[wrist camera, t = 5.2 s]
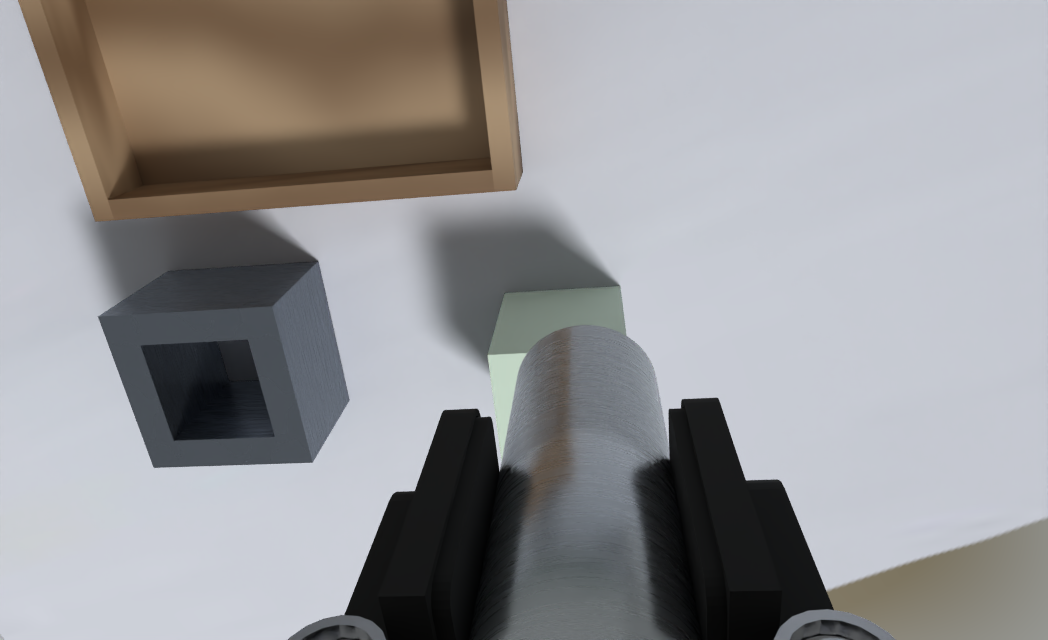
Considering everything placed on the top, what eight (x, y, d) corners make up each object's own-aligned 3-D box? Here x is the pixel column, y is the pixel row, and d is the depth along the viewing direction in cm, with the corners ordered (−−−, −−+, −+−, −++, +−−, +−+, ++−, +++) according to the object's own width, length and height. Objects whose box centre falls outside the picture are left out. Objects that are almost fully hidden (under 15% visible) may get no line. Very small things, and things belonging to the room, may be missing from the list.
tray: (29, -143, 25) (-38, -160, 23) (486, -206, 24) (473, -233, 21) (139, 201, 30) (95, 221, 28) (523, 171, 29) (516, 190, 26)
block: (168, 271, 32) (98, 316, 27) (318, 261, 31) (272, 306, 26) (210, 406, 35) (153, 467, 30) (349, 400, 34) (312, 462, 29)
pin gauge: (506, 327, 14) (352, 957, 5) (657, 317, 13) (804, 978, 4) (521, 451, 15) (422, 1152, 6) (661, 446, 15) (783, 1177, 6)
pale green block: (504, 292, 31) (487, 356, 25) (620, 285, 30) (628, 349, 25) (516, 392, 33) (502, 472, 27) (624, 387, 32) (633, 468, 27)
